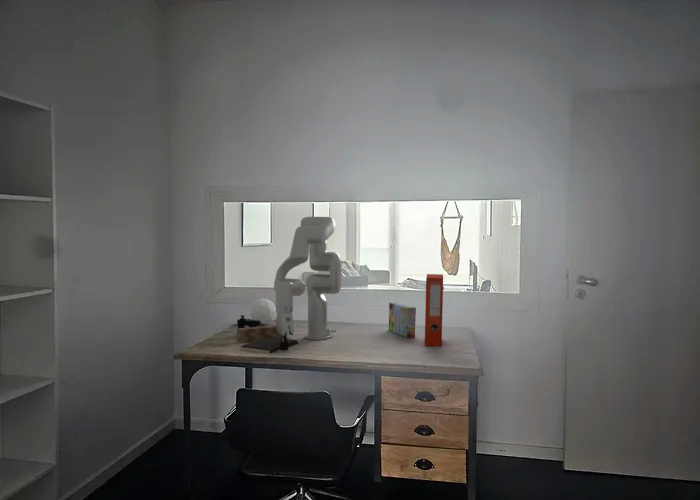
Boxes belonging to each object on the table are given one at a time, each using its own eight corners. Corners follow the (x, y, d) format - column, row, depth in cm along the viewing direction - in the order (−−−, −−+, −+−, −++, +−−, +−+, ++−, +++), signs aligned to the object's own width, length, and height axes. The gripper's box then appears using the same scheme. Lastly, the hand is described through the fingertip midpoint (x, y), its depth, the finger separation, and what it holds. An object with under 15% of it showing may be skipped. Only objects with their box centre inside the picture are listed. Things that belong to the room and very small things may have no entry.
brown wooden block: (283, 336, 292) (283, 324, 291) (286, 338, 288) (286, 325, 288) (237, 341, 280) (237, 328, 280) (239, 342, 277) (239, 330, 277)
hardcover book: (240, 351, 262) (240, 346, 262) (269, 341, 283) (269, 336, 283) (269, 355, 255) (269, 349, 255) (297, 344, 276) (297, 339, 276)
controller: (239, 334, 297) (239, 314, 296) (262, 335, 294) (262, 315, 293) (235, 335, 292) (235, 316, 292) (258, 337, 289) (258, 317, 289)
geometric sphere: (269, 333, 323) (277, 314, 316) (243, 324, 321) (251, 305, 313) (274, 317, 335) (282, 298, 328) (249, 308, 333) (256, 289, 325)
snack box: (416, 337, 292) (416, 307, 291) (406, 338, 290) (406, 307, 289) (397, 329, 312) (397, 301, 311) (387, 330, 310) (388, 301, 309)
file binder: (442, 339, 288) (443, 274, 286) (442, 346, 271) (443, 278, 269) (425, 338, 289) (426, 274, 287) (424, 346, 272) (425, 277, 270)
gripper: (298, 310, 253) (298, 352, 254) (286, 306, 266) (286, 346, 267) (282, 312, 249) (282, 354, 250) (270, 307, 262) (270, 347, 263)
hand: (284, 350), depth 258 cm, fingers closed
